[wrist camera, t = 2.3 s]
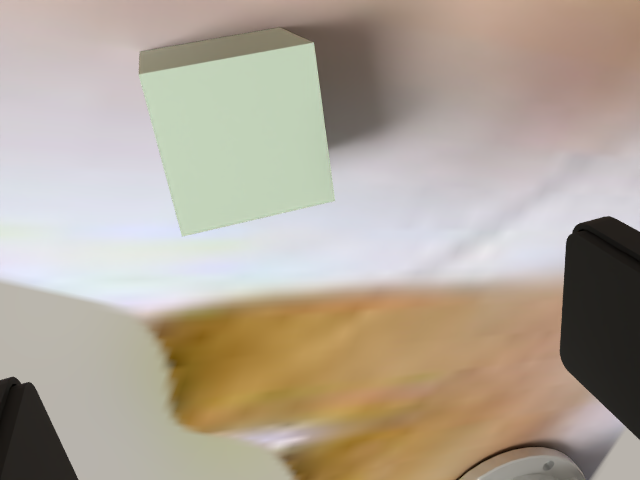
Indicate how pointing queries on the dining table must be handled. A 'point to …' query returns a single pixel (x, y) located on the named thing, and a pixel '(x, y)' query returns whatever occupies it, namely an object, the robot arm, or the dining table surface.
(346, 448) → the dining table surface
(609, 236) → the robot arm
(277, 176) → the green cube
